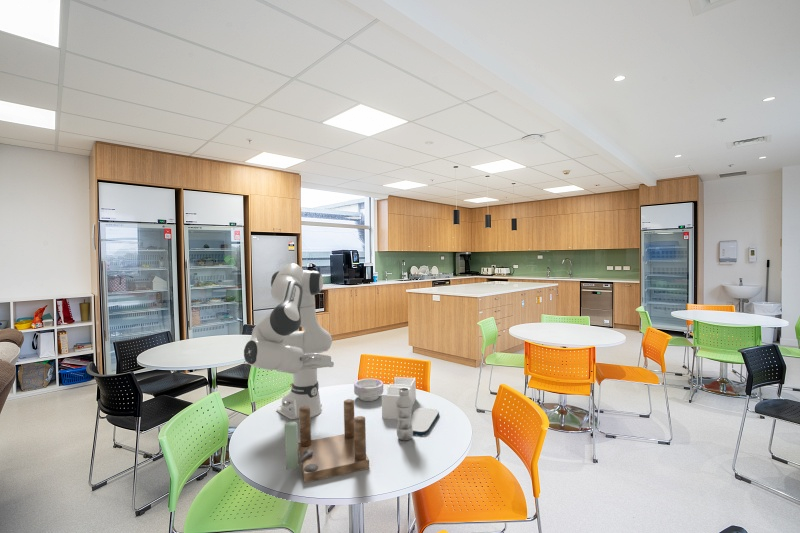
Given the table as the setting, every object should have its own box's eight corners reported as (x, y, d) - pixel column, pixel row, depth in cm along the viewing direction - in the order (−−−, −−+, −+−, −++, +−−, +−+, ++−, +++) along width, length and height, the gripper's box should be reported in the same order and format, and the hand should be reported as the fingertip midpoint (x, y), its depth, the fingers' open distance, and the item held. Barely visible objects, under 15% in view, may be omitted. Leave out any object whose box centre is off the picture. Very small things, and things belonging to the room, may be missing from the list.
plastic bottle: (414, 442, 149) (413, 392, 148) (397, 442, 148) (396, 392, 148) (412, 434, 155) (411, 386, 155) (396, 435, 155) (395, 387, 154)
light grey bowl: (389, 397, 196) (389, 382, 196) (367, 406, 185) (367, 390, 185) (370, 390, 207) (370, 376, 207) (348, 398, 196) (348, 383, 196)
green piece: (306, 450, 137) (305, 411, 136) (315, 453, 135) (314, 413, 135) (283, 468, 126) (282, 425, 125) (292, 471, 124) (291, 427, 124)
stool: (304, 482, 124) (303, 431, 123) (298, 450, 144) (297, 406, 144) (369, 468, 131) (368, 420, 131) (354, 439, 152) (353, 398, 151)
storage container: (405, 420, 169) (405, 396, 169) (382, 418, 171) (381, 394, 171) (415, 399, 193) (415, 378, 193) (395, 397, 196) (394, 377, 195)
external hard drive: (426, 437, 153) (426, 432, 153) (399, 433, 157) (399, 428, 157) (440, 414, 175) (440, 410, 175) (417, 411, 179) (416, 407, 179)
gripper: (312, 347, 122) (344, 354, 132) (276, 353, 134) (307, 359, 144) (310, 366, 120) (342, 372, 130) (273, 371, 132) (305, 376, 142)
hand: (323, 365), depth 137 cm, fingers open, 8 cm apart
